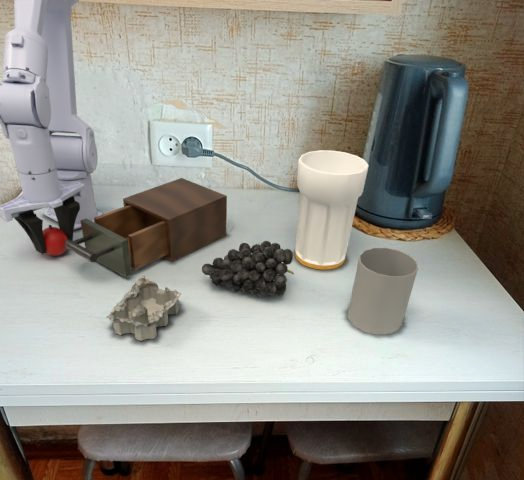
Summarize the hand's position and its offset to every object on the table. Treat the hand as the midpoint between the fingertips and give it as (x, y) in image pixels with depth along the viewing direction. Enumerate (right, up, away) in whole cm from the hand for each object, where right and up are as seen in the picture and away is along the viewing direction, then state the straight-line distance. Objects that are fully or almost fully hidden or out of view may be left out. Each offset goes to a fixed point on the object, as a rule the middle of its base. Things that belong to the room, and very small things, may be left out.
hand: (54, 246), depth 88 cm
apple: (0, +1, -1) cm, 1 cm away
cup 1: (+46, -1, +5) cm, 47 cm away
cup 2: (+53, -13, -9) cm, 56 cm away
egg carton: (+19, -13, -12) cm, 26 cm away
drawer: (+12, -2, 0) cm, 13 cm away
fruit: (+33, -8, -4) cm, 34 cm away
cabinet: (+20, +3, +8) cm, 22 cm away
